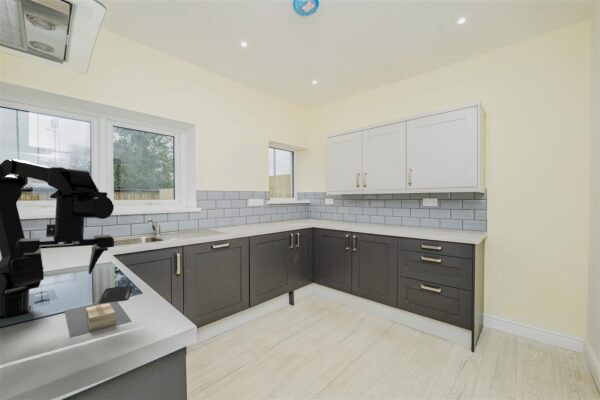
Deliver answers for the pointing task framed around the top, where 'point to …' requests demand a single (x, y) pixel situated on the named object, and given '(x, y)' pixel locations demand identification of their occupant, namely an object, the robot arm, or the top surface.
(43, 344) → the top surface
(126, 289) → the phone
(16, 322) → the top surface
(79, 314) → the mat
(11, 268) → the robot arm
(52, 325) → the top surface
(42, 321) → the top surface
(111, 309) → the beige wooden block
